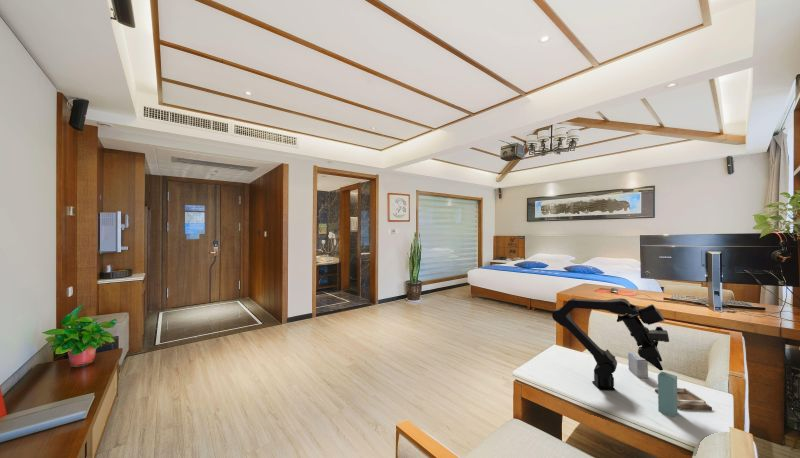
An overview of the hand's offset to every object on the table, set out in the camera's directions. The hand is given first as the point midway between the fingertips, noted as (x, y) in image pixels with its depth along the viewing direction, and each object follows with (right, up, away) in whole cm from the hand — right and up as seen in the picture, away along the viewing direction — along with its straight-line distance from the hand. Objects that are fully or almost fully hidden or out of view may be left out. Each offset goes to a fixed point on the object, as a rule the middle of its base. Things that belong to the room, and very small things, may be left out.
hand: (661, 365), depth 119 cm
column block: (-2, -15, -5) cm, 16 cm away
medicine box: (+9, -15, +23) cm, 28 cm away
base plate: (+9, -15, +1) cm, 18 cm away
